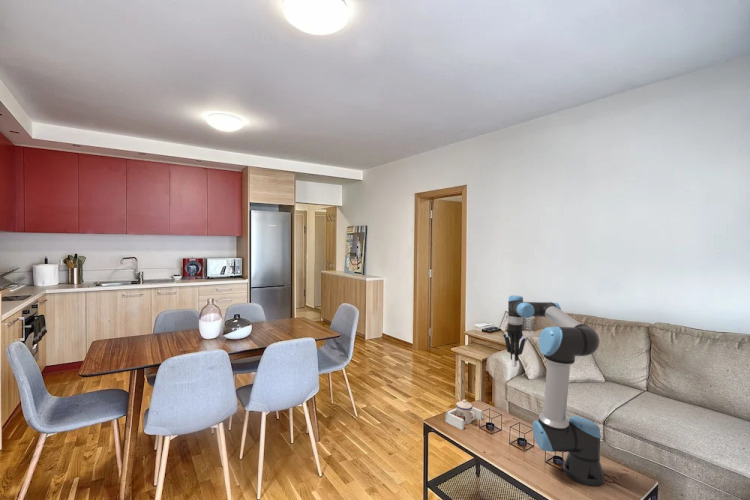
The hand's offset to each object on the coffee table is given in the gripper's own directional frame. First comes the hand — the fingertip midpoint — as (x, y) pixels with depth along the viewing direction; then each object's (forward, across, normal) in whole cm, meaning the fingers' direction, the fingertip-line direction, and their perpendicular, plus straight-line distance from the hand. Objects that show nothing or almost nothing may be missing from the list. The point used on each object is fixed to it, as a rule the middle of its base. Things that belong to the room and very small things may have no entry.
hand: (514, 366), depth 198 cm
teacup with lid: (+33, +18, +18) cm, 42 cm away
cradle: (+32, +20, +18) cm, 42 cm away
